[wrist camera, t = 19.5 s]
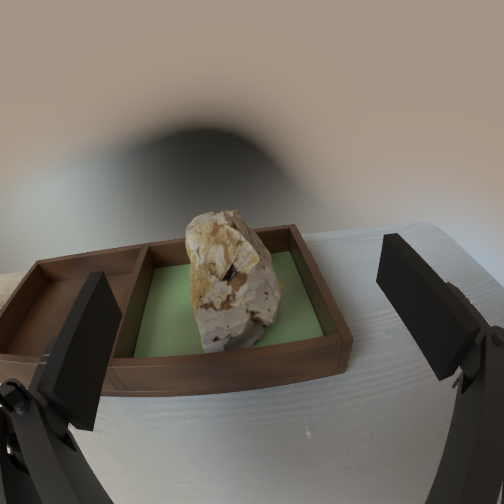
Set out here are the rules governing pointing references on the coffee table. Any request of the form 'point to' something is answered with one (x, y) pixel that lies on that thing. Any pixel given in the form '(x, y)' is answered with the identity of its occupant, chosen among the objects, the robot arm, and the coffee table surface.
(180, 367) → the divided wooden tray
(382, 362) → the coffee table surface
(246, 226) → the rock
